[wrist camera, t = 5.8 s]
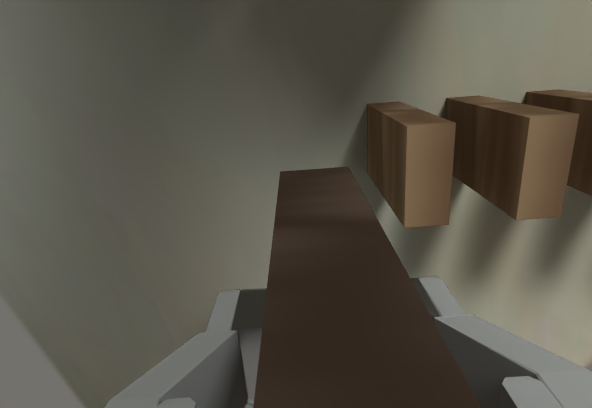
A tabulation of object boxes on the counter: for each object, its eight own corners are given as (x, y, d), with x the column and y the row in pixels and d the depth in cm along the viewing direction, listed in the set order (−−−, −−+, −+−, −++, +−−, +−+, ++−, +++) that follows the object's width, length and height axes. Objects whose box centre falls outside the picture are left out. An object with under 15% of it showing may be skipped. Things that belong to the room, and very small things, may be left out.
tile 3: (442, 167, 28) (516, 220, 19) (446, 98, 27) (529, 117, 17) (472, 165, 28) (561, 216, 19) (478, 95, 27) (579, 113, 17)
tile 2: (367, 173, 29) (404, 227, 19) (367, 104, 27) (406, 126, 17) (397, 171, 29) (448, 224, 19) (398, 101, 27) (456, 122, 17)
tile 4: (517, 162, 28) (628, 212, 19) (526, 92, 27) (653, 108, 17) (547, 160, 28) (673, 209, 19) (558, 89, 27) (703, 104, 17)
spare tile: (292, 303, 14) (291, 771, 5) (280, 171, 12) (243, 494, 3) (352, 299, 14) (470, 762, 5) (348, 166, 12) (519, 477, 3)
